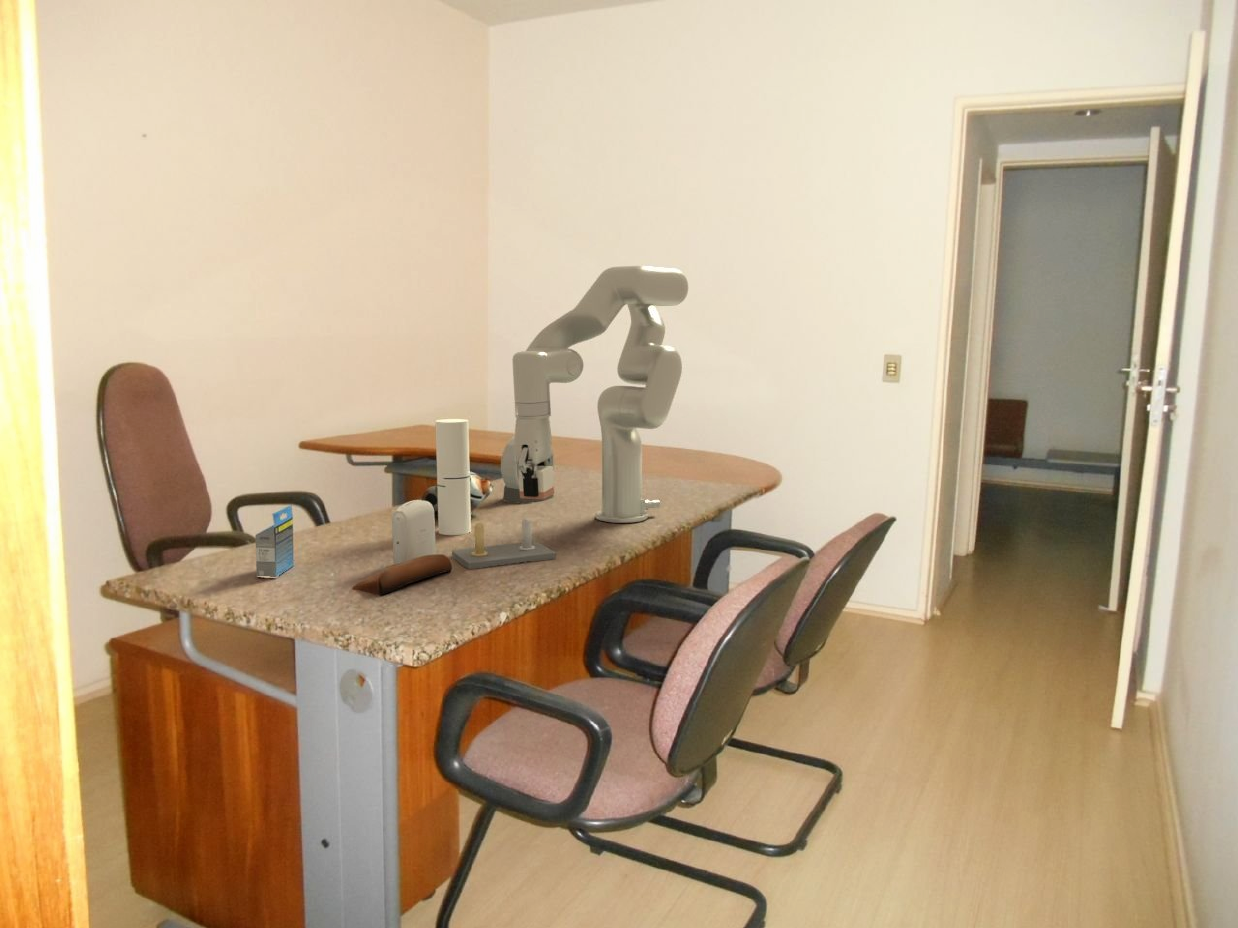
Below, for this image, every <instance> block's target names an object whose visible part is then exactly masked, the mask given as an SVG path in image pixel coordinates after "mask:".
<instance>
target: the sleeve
mask: <svg viewBox="0 0 1238 928" xmlns="http://www.w3.org/2000/svg"><path fill="white" fill-rule="evenodd" d="M528 468H530V469H531V471H532V467H528ZM536 478H538V493H539V495H538V496H537V497H527V496H524V490H523V478H522V473H521V470H519V488H520V498H528V499H545V498H547V497H549V496H551V495H552V494H553V495H555V483H554V481H555V480H554V479H555V478H554V471H553V466H537V470H536Z"/></svg>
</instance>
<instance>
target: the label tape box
mask: <svg viewBox="0 0 1238 928" xmlns="http://www.w3.org/2000/svg"><path fill="white" fill-rule="evenodd" d="M292 507H293V506H292V504H289V505H288V506H286V507H284V508H281V509H279V510H277V511H275V512H272V513H271V515H272V522H273V525H271V526H269V527H267V528H265V529H263V530H262V531H260V532H258V533H256V534H255V563H256V565H255V570H256V577H257V576H270V577H277V576H278V575H280V574H281V573H283V572H284V573H286V572H287V571H289V570H290V569H292V568H293V567H294V566H295V565H294V563H295V562H294V561H295V560H294V519H293V518H294V517H293V516H294V515H293V508H292ZM283 515H286V516H285V517H283V518H281V517H282V516H283ZM292 566H293V567H292ZM291 567H292V568H291ZM289 568H290V569H289ZM288 569H289V570H288ZM286 570H287V571H286ZM285 571H286V572H285ZM284 573H283V574H284ZM280 576H281V575H280Z"/></svg>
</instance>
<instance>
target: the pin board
mask: <svg viewBox="0 0 1238 928" xmlns="http://www.w3.org/2000/svg"><path fill="white" fill-rule="evenodd" d="M521 525H522V527H521V532H522V533H521V536H522V542H516V543H515V542H514V543H506V544H498V545H488V546H485V532H484V531H485V528H484V525H483V523H481V522H478V523H476V524H475V525H474V528H473V529H474V547H470V548H463V549H454V550H453V549H452V550H451V557H452V558H454V559H455V560H456V561H458V562H459V564H461V565H462V566H464V567H465V568H466V569H468V570H474V569H482V568H483V567H484V568H490V566H492V567H498V566H497V565H500V566H505V565H504V564H508V565H512V564H511V563H516V564H520V563H519V562H524V563H528V562H527V561H532V562H539V561H546V560H555V559H556V558H557V552H556V551H554V550H552V549H550V548H549V547H546V546H545V545H543V544H542V543H541V542H538V541H536V540H532V521H531V519H530V518H527V517H526V518H524V519H522V522H521ZM484 568H483V569H484Z"/></svg>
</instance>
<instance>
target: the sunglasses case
mask: <svg viewBox="0 0 1238 928" xmlns="http://www.w3.org/2000/svg"><path fill="white" fill-rule="evenodd" d="M452 571H453V565H452V562H451V559H450V558H449V557H448V556H447V555H445V554H435V555H426V556H421V557H417V558H414V559H411V560H408V561H406V562H403V563H401V564H395V565H394V564H393V565H391V566H386V567H385V569H384V570H383V571H381V572H378V573H375V574H373V575H371V576H368V577H366V578H364V579H363V580H361V581H359V582H358V583H356V584H355V585H353V586H352V587H351V590H352V591H358V590H359V592H363V593H366V594H371V595H375V596H379V597H382V595H383V594H384V595H387V594H388V593H390V592H392V591H395V590H397V589H400V588H402V587H404V586H406V585H408V584H411V583H414V582H418V581H422V580H424V579H427V578H430V577H433V576H437V575H439V574H442V573H449V574H450V573H451V572H452Z"/></svg>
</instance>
